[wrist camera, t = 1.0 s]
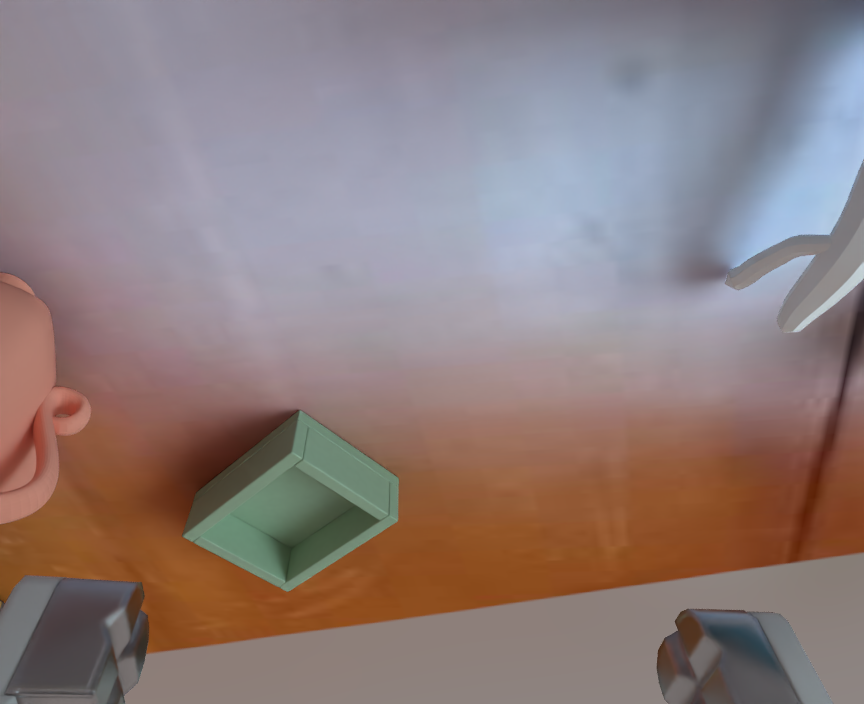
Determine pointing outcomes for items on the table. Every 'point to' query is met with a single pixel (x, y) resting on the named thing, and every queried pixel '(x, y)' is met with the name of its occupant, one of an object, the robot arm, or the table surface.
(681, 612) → the robot arm
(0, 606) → the dinosaur figurine
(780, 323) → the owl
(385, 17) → the table surface
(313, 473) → the frame
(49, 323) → the teapot
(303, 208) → the table surface
